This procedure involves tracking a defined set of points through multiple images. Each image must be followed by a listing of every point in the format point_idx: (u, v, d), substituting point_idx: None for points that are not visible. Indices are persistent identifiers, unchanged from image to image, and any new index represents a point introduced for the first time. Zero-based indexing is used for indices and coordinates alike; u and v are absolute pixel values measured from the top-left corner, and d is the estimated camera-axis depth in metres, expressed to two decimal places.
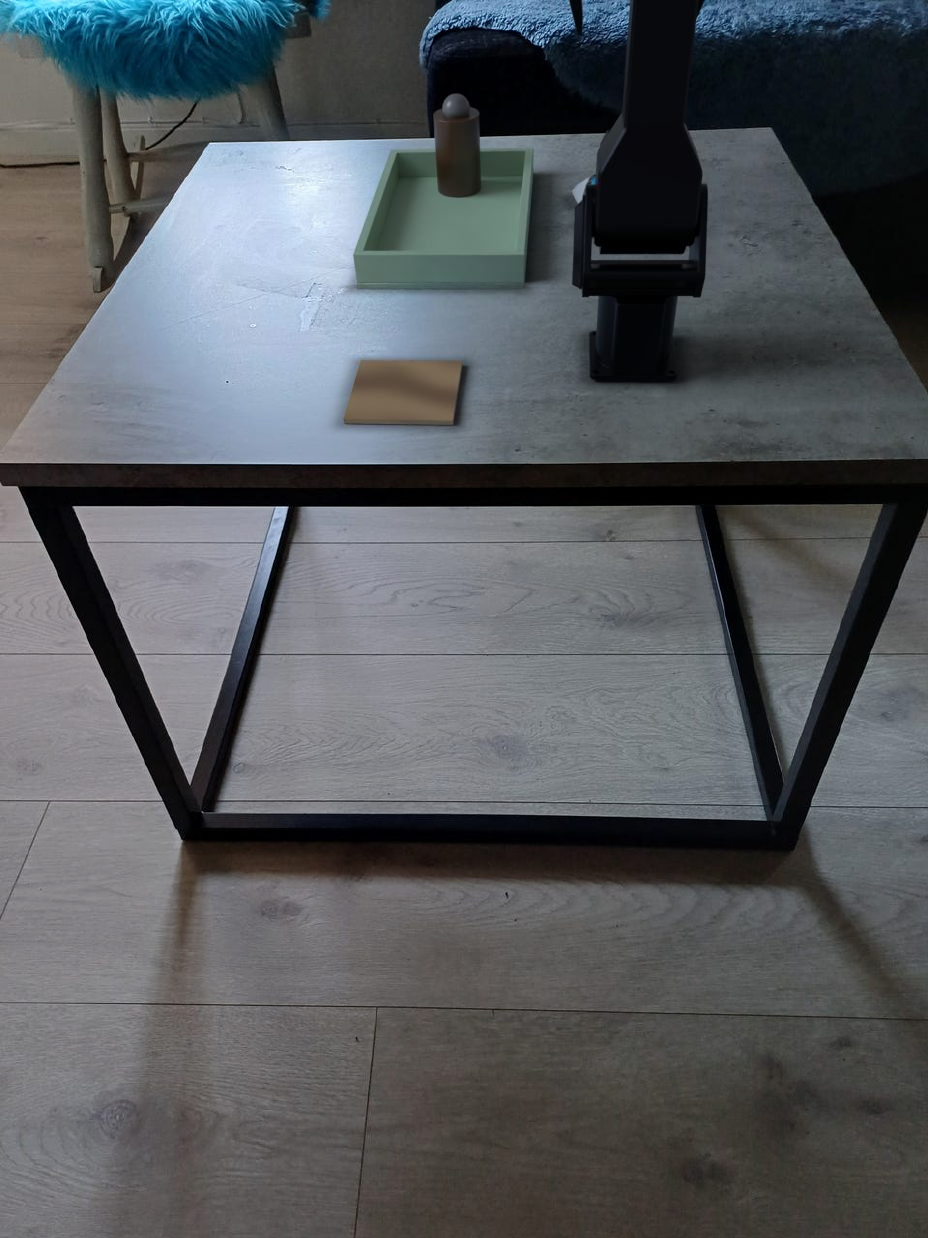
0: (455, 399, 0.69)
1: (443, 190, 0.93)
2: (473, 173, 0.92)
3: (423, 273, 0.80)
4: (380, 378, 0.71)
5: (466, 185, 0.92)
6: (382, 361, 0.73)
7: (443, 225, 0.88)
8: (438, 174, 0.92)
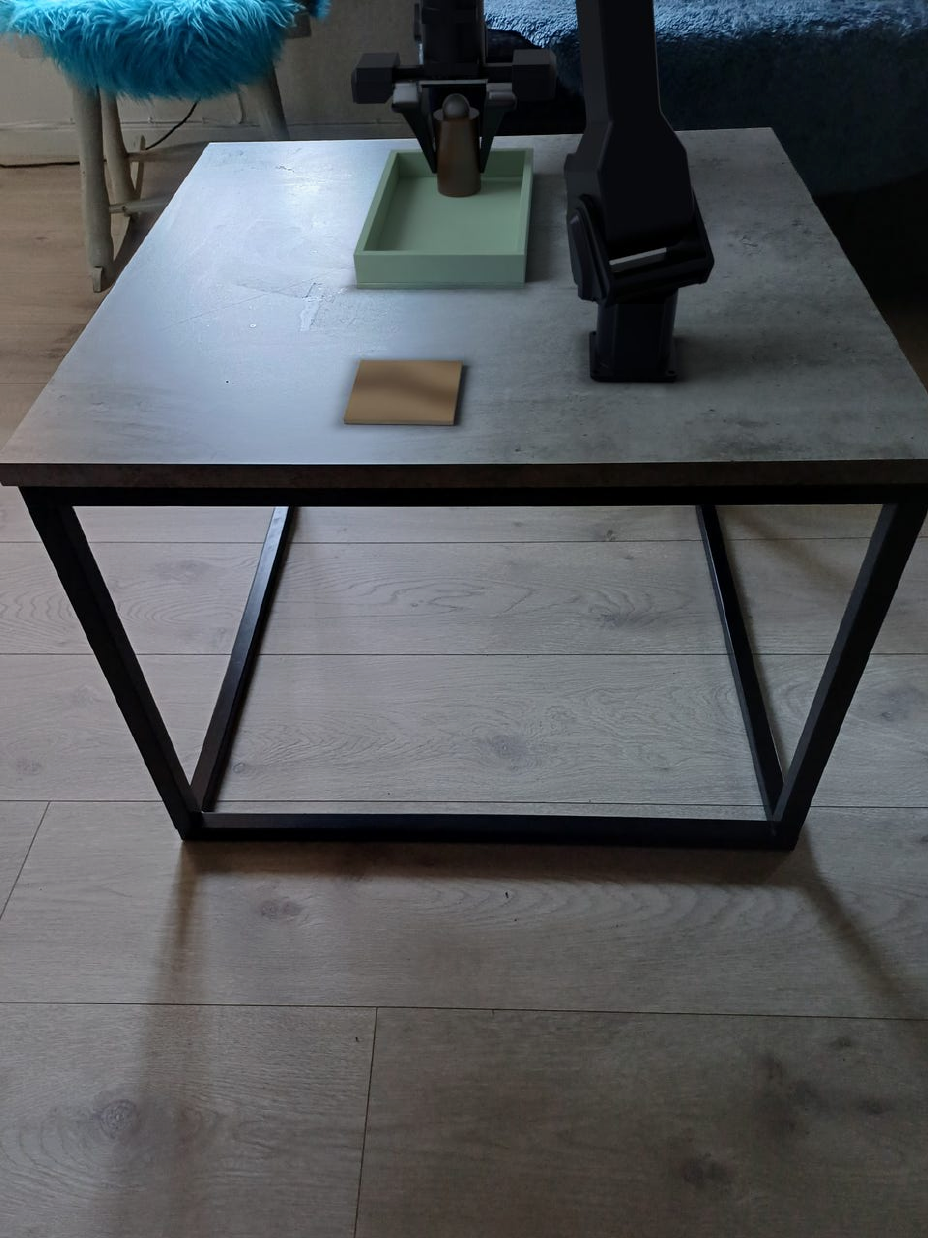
0: (455, 399, 0.69)
1: (443, 190, 0.93)
2: (473, 173, 0.92)
3: (423, 273, 0.80)
4: (380, 378, 0.71)
5: (466, 185, 0.92)
6: (382, 361, 0.73)
7: (443, 225, 0.88)
8: (438, 174, 0.92)
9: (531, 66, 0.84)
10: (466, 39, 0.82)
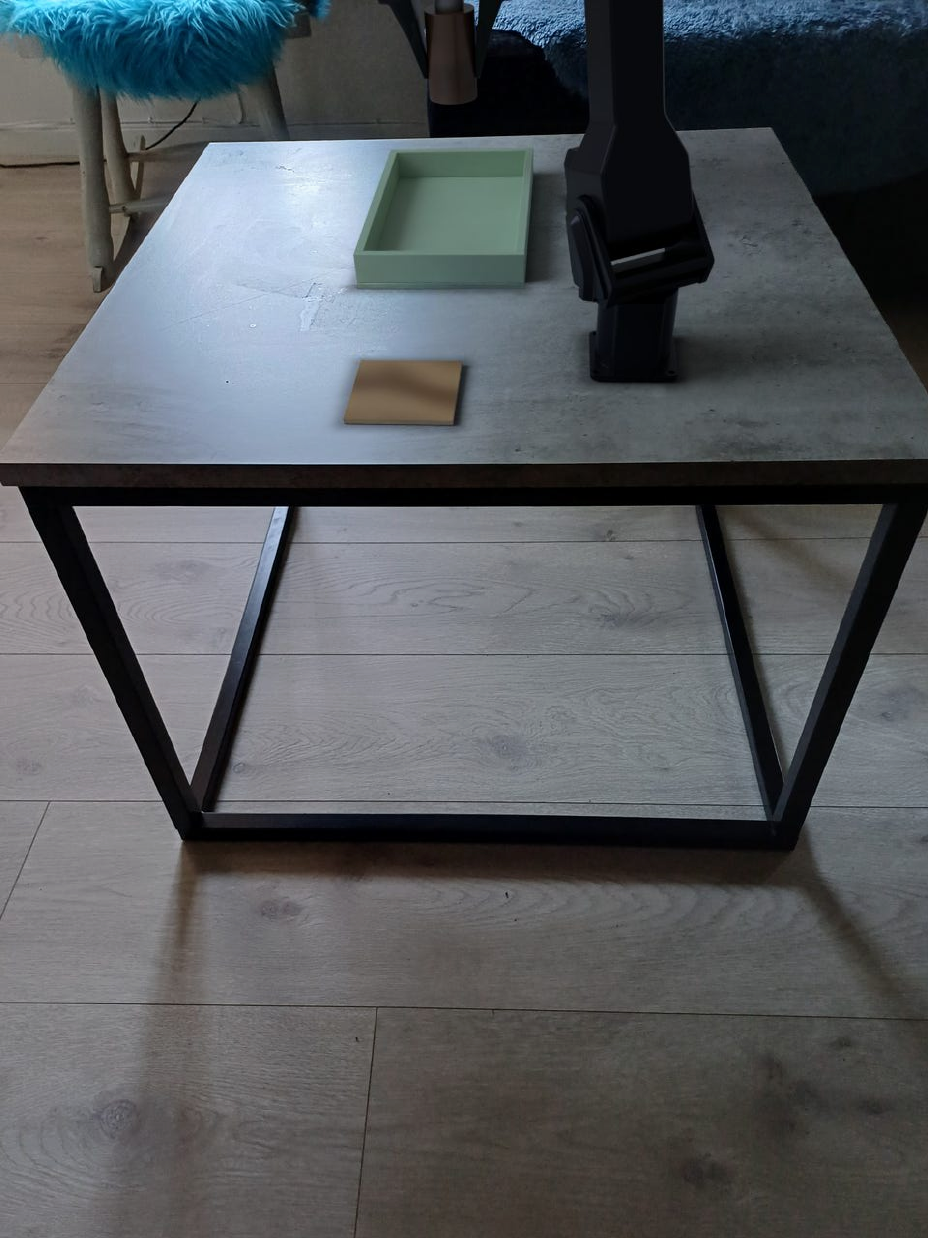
0: (455, 399, 0.69)
1: (435, 97, 0.85)
2: (468, 77, 0.84)
3: (423, 273, 0.80)
4: (380, 378, 0.71)
5: (460, 90, 0.84)
6: (382, 361, 0.73)
7: (443, 225, 0.88)
8: (430, 78, 0.84)
9: None
10: None
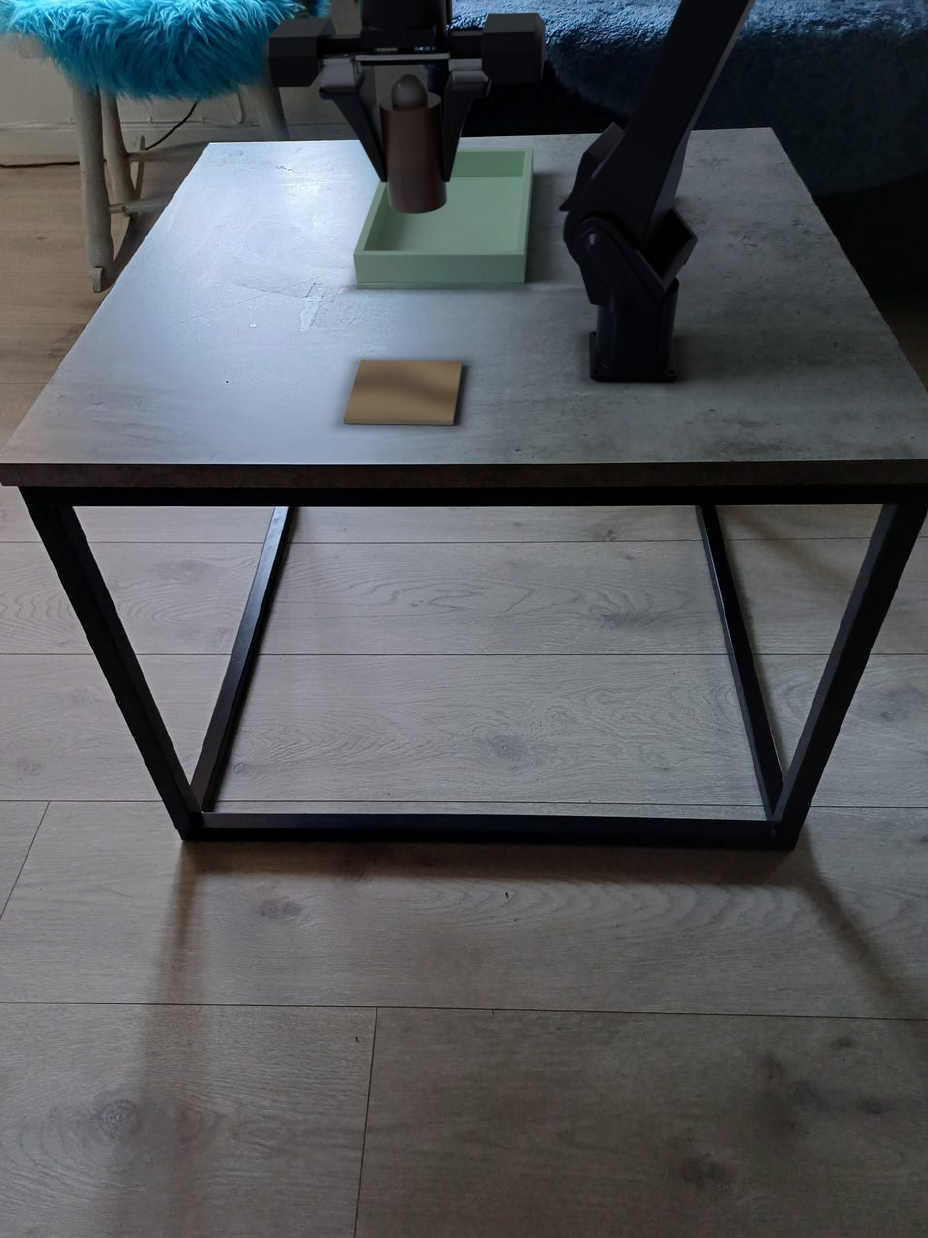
0: (455, 399, 0.69)
1: (395, 204, 0.70)
2: (434, 182, 0.68)
3: (423, 273, 0.80)
4: (380, 378, 0.71)
5: (425, 198, 0.69)
6: (382, 361, 0.73)
7: (443, 225, 0.88)
8: (388, 183, 0.69)
9: (508, 34, 0.60)
10: None
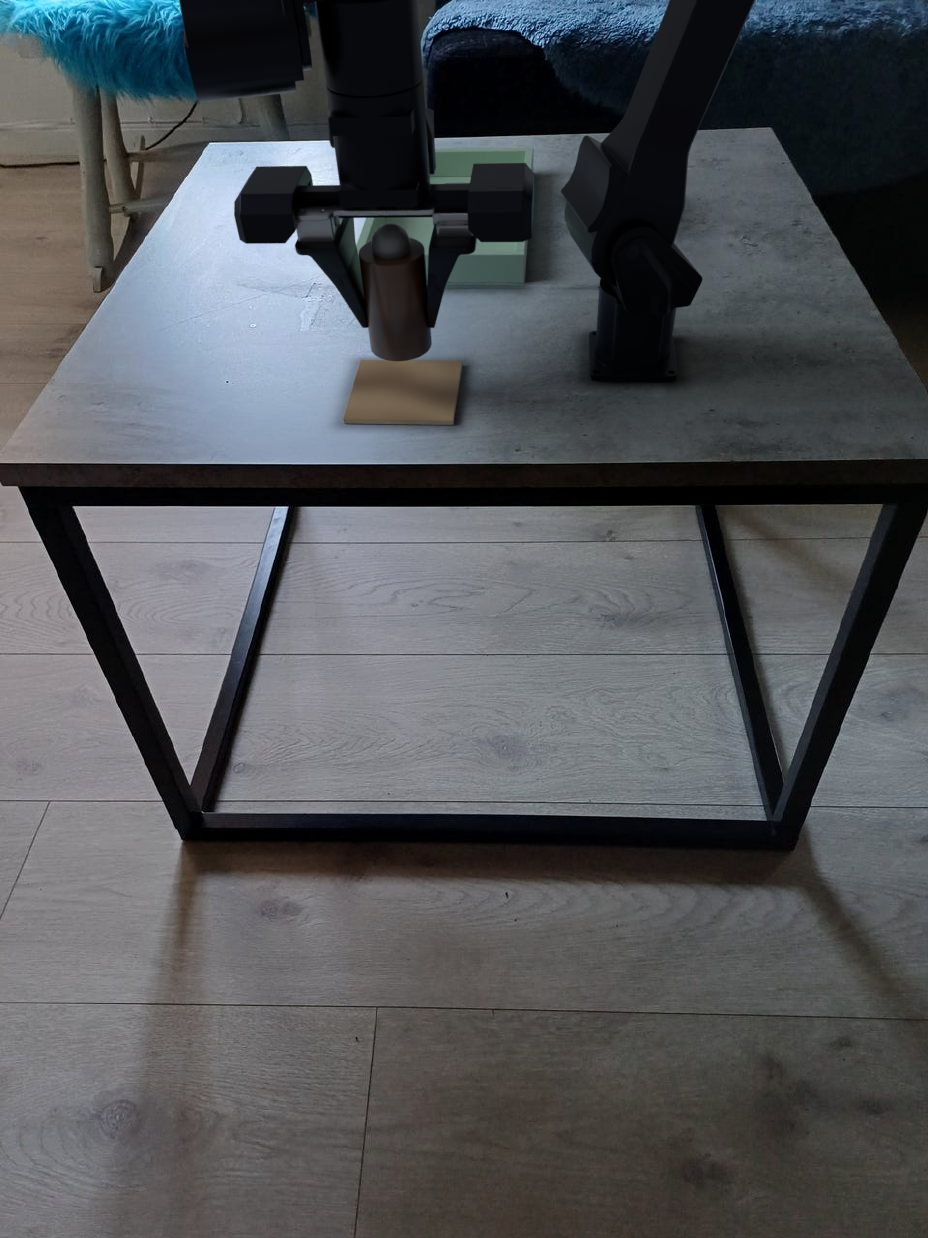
0: (455, 399, 0.69)
1: (377, 351, 0.66)
2: (418, 330, 0.65)
3: None
4: (380, 378, 0.71)
5: (408, 346, 0.65)
6: (382, 361, 0.73)
7: None
8: (369, 329, 0.65)
9: (496, 194, 0.57)
10: (398, 158, 0.55)
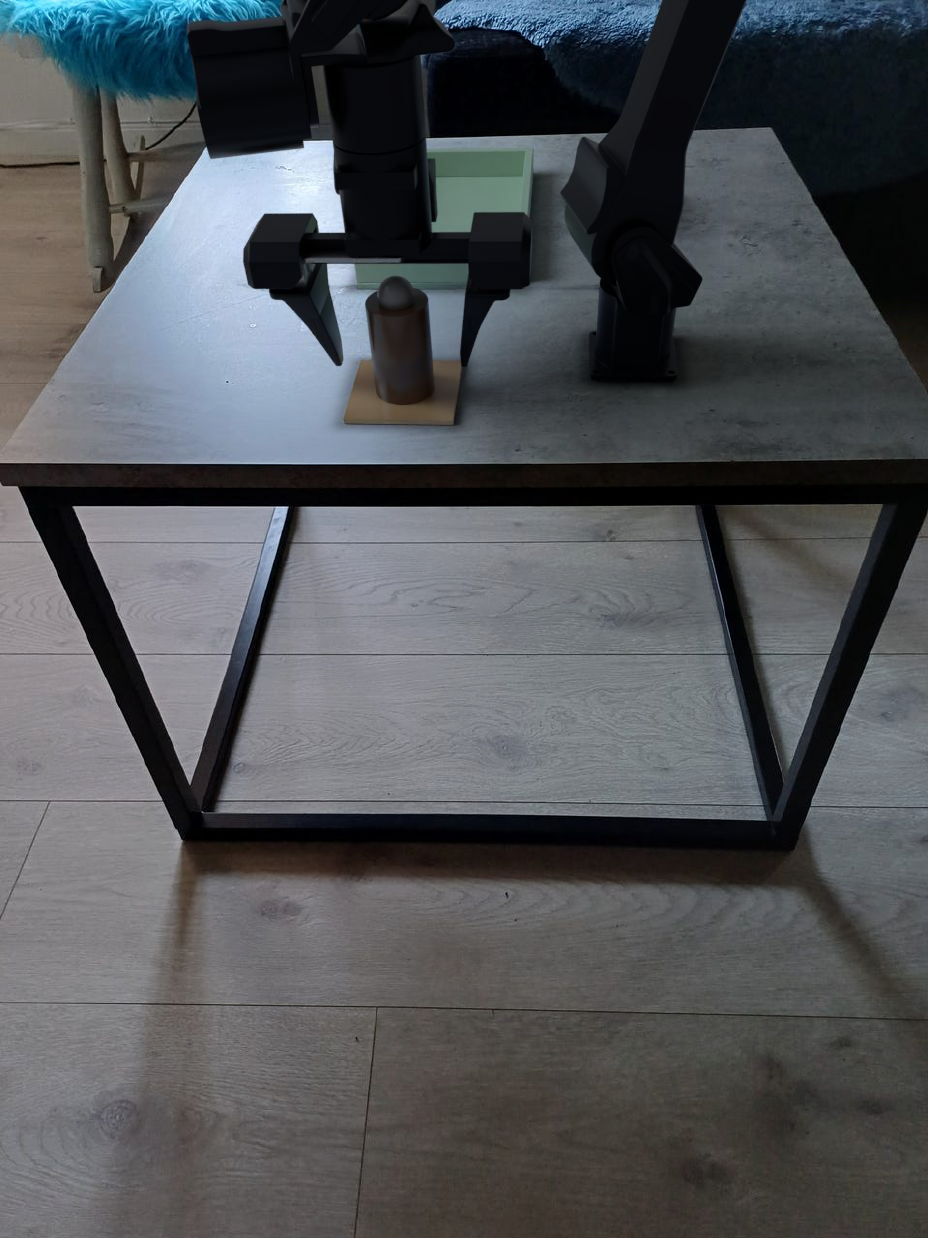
0: (455, 399, 0.69)
1: (382, 395, 0.69)
2: (422, 376, 0.67)
3: (423, 273, 0.80)
4: None
5: (412, 391, 0.68)
6: None
7: (443, 225, 0.88)
8: (375, 374, 0.68)
9: (495, 244, 0.59)
10: (401, 210, 0.58)
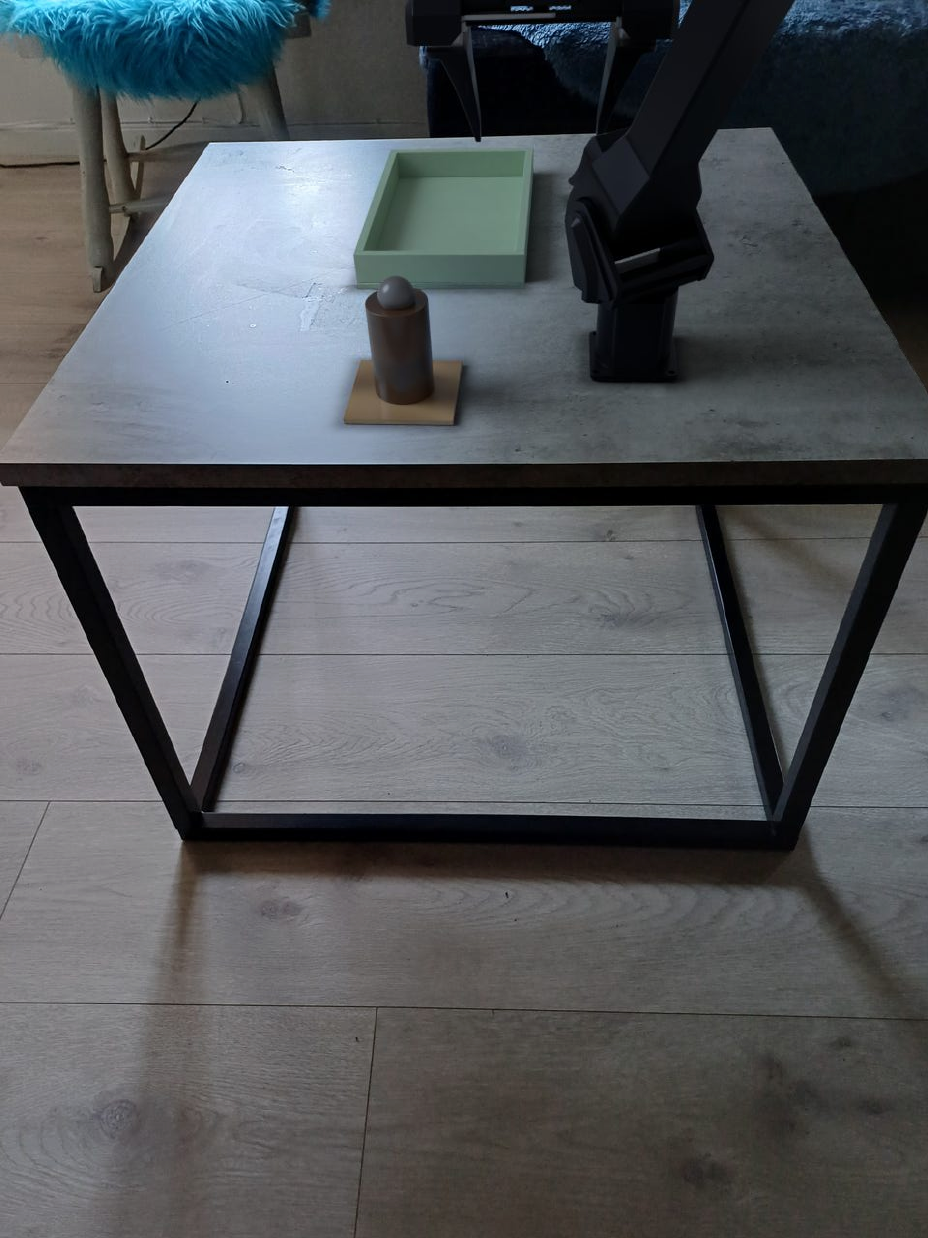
0: (455, 399, 0.69)
1: (382, 395, 0.69)
2: (422, 376, 0.67)
3: (423, 273, 0.80)
4: None
5: (412, 391, 0.68)
6: None
7: (443, 225, 0.88)
8: (375, 374, 0.68)
9: None
10: None
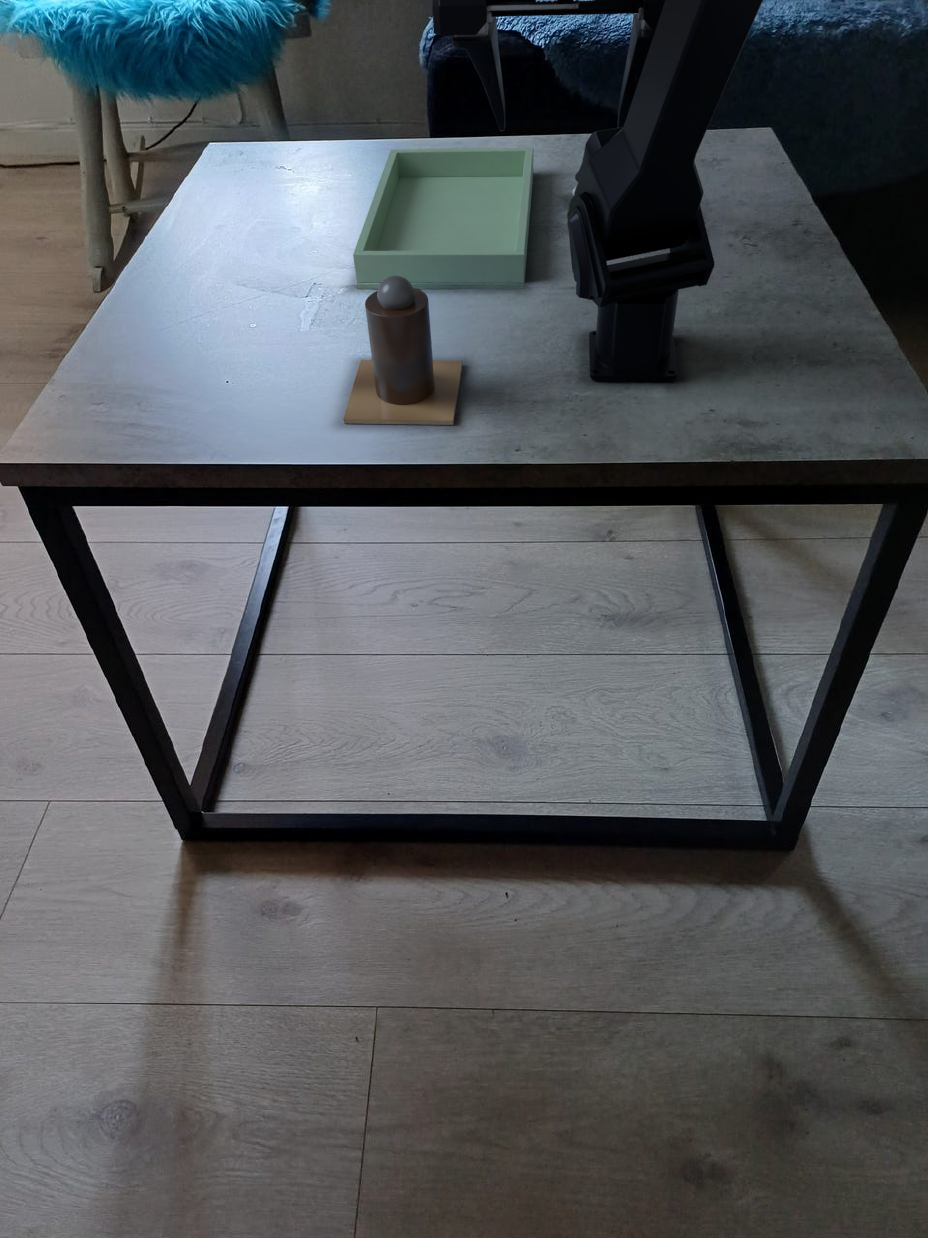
0: (455, 399, 0.69)
1: (382, 395, 0.69)
2: (422, 376, 0.67)
3: (423, 273, 0.80)
4: None
5: (412, 391, 0.68)
6: None
7: (443, 225, 0.88)
8: (375, 374, 0.68)
9: None
10: None
